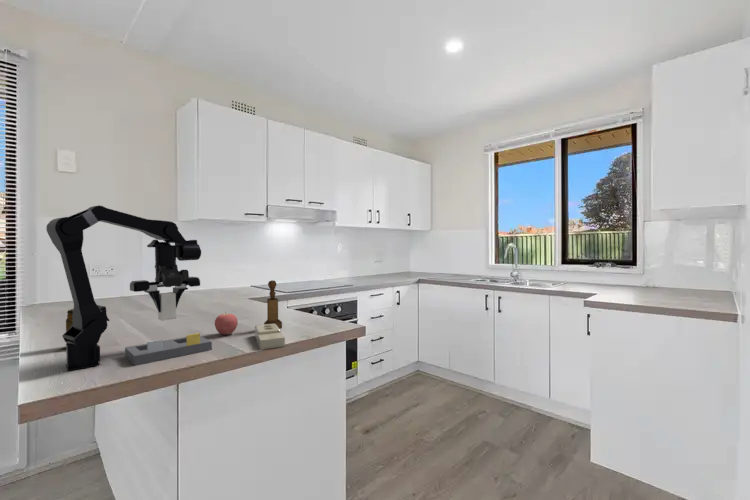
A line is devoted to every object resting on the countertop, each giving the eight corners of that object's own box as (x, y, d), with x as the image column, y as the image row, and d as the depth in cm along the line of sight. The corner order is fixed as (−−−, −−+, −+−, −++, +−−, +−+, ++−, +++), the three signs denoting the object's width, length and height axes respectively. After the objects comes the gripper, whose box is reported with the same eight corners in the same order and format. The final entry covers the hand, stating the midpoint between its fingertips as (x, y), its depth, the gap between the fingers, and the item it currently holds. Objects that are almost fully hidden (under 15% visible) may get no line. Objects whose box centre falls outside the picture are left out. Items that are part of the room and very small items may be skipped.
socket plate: (134, 365, 100) (134, 344, 99) (125, 355, 108) (124, 337, 108) (211, 349, 113) (211, 331, 113) (197, 342, 122) (197, 325, 122)
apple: (211, 334, 132) (210, 312, 132) (230, 330, 138) (230, 309, 138) (221, 338, 127) (220, 314, 127) (241, 333, 133) (240, 311, 133)
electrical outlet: (260, 337, 113) (254, 325, 130) (260, 350, 113) (254, 336, 130) (284, 334, 116) (275, 323, 133) (284, 347, 116) (276, 334, 133)
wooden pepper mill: (279, 330, 137) (278, 281, 137) (261, 330, 138) (260, 281, 137) (283, 326, 144) (283, 279, 144) (267, 326, 144) (266, 279, 144)
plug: (162, 320, 115) (161, 294, 115) (158, 318, 118) (157, 293, 118) (176, 318, 118) (175, 293, 118) (172, 316, 121) (171, 292, 121)
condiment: (97, 343, 122) (96, 307, 122) (78, 351, 114) (76, 312, 113) (74, 344, 122) (73, 307, 122) (53, 352, 113) (52, 312, 113)
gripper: (138, 264, 105) (139, 319, 106) (206, 260, 119) (207, 310, 119) (128, 262, 113) (130, 314, 114) (193, 260, 126) (194, 306, 127)
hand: (167, 311), depth 118 cm, fingers closed on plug, 4 cm apart
